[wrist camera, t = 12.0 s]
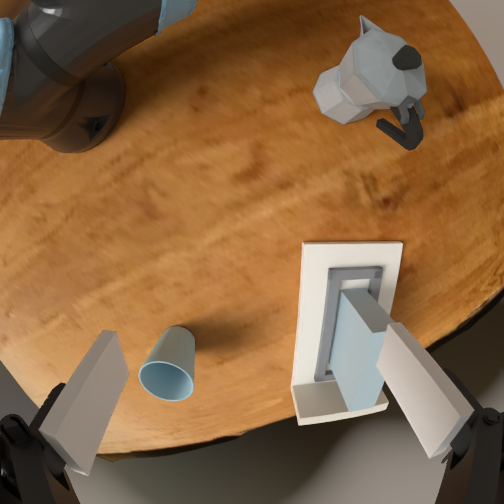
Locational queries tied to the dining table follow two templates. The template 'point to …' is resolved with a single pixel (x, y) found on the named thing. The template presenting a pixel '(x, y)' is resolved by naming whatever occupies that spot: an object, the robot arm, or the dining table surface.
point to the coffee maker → (376, 84)
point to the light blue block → (358, 347)
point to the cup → (170, 366)
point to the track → (324, 317)
